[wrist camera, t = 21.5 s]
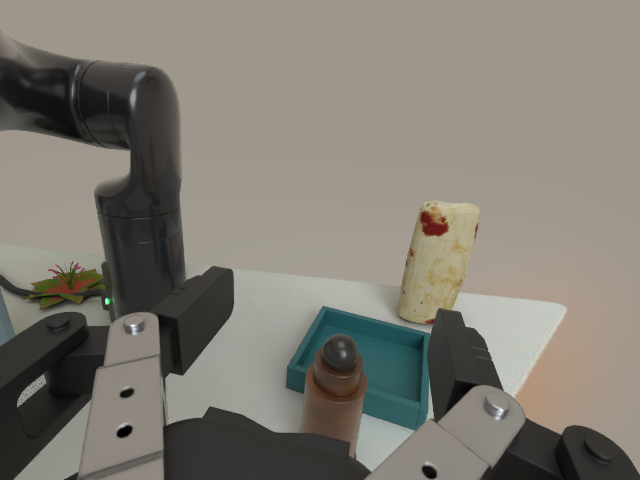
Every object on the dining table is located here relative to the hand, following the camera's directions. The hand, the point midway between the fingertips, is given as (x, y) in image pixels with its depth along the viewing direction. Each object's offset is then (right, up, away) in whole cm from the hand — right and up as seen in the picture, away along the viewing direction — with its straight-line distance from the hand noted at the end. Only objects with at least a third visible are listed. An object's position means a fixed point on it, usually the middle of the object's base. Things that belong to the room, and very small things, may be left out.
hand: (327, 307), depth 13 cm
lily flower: (-40, -6, +41) cm, 57 cm away
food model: (+17, -10, +42) cm, 47 cm away
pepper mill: (0, -18, +19) cm, 26 cm away
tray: (+5, -14, +31) cm, 34 cm away
